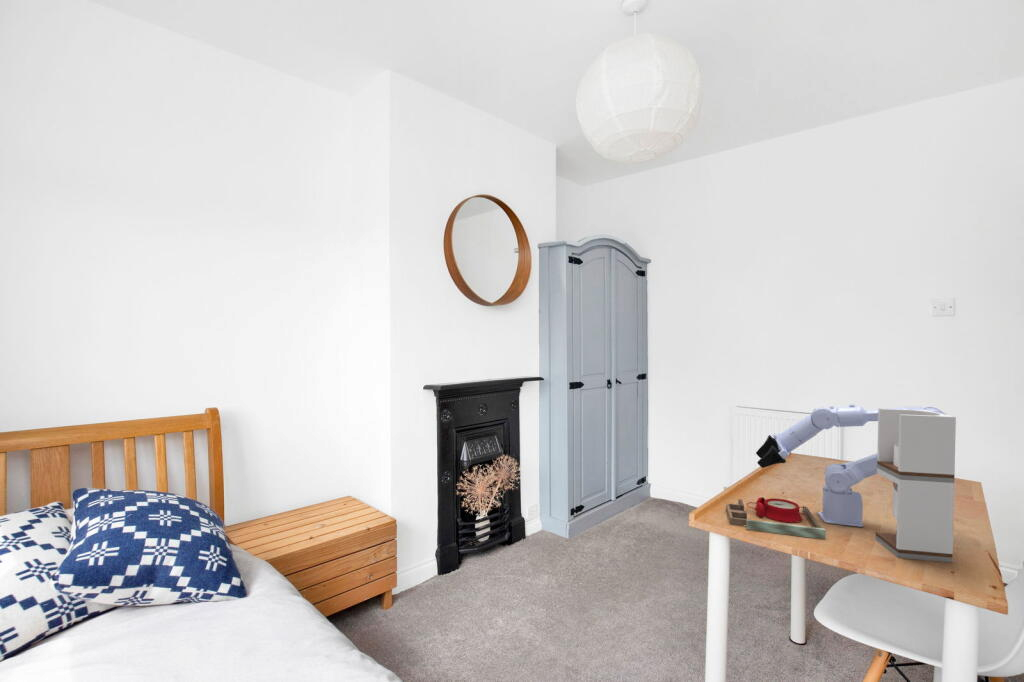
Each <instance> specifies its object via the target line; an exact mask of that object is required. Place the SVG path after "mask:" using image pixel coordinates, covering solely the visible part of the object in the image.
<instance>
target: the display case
mask: <svg viewBox="0 0 1024 682" xmlns="http://www.w3.org/2000/svg"><path fill="white" fill-rule="evenodd" d="M877 409H878V421H877V452H876V453H877V474H878V475H880V476H881V477H883V478H885V479H887V480H888V481H891V482H892V506H891V507H892V510H891V511H892V515H893V517H894V518H895V520H896V533H891V532H890V533H889V532H879V531H878V532H875V541H876V540H877V541H876V542H877V543H879V544H880V543H881V544H880V545H882V546H883V547H884V548H885V549H886V550H887V551H889V552H890V553H892V554H893V555H895V557H896V558H899V559H909V560H919V561H920V560H921V561H933V562H942V563H943V562H944V563H953V558H954V557H953V555H954V554H953V553H954V551H953V550H954V518H955V517H954V513H955V512H954V511H955V510H954V509H955V506H954V505H955V470H956V469H955V467H956V466H955V465H956V427H957V426H956V425H957V421H956V420H957V417H956V416H953V415H948V414H947V415H945V414H946V413H945V414H941V413H937V412H933V411H929V410H904V409H886V408H877ZM877 474H876V475H877Z"/></svg>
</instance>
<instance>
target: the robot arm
mask: <svg viewBox="0 0 1024 682" xmlns="http://www.w3.org/2000/svg"><path fill="white" fill-rule="evenodd" d="M878 409H879V408H877V409H875V408H874V409H864V408H863V407H862V406H860V405H855V404H854V403H850V404H848V406H837V407H834V405H830V406H829V408H827V407H824V406H823V407H822V406H821V407H820V406H819V407H817V408H813V410H812V412H811V414H809V415H806V416H805V417H804V418H802V419H800V420H799V421H798V422H796V423H794V424H793V425H792V426H791V425H790V427H788V428H787V429H785V430H784V431H782V432H781V433H780V432H779V433H777V434H776V433H775V432H774V433H773V434H772V435H770V434H768V435H767V438H766V440H765V441H764V443H763V444H762V445H761V446H760V447H759V448H758V450H756V452H755V455H757V456H758V457H759V458H760V459H759V460H758V461H757V463H756V464H758V465H759V467H761V469H765V468H767V467H770V466H772V465H778V464H785V463H786V462H787V460H786V458H788V457H789V456H790V454H791V453H792V452H793V451H794V450H796V449H797V448H799V447H800V446H802V445H803V444H804V443H806V442H808V441H809V440H811V439H812V438H814V437H816V436H817V434H818V433H821V432H822V431H824V430H829V429H832V428H833V427H836V428H844V427H846V428H849V427H850V428H851V427H863V426H865V425H866V424H867V423H868V422H878ZM885 409H904V410H929V411H933V412H937V413H941V414H945V415H948V414H947V413H945V412H944V411H942V410H941V409H938V408H937V407H932V406H926V407H922V406H902V407H901V406H899V407H889V408H885ZM772 436H773V437H772ZM877 453H878V452H876V453H873V454H871V455H868V456H866V457H863V458H861V459H860V458H859V459H857V460H855V461H846V462H844V463H841V464H840V463H832V464H829V465H828V466H827V467H826V468H825V471H824V476H825V478H824V483H825V484H824V485H823V486H822V508H821V509H822V511H818V512H817V514H818V516H820V518H821V519H822V521H823V522H824V523H826V524H834V525H843V526H851V527H858V528H859V527H860V528H861V527H862V528H863V527H864V525H863V511H864V509H863V505H864V503H863V498H862V495H861V493H860V492H859V491H853V489H852V488H851V487H852V486H854V485H857V484H859V483H861V482H862V481H863V480H865V479H867V478H869V477H873V476H875V475H877Z"/></svg>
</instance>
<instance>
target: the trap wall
mask: <svg viewBox="0 0 1024 682" xmlns="http://www.w3.org/2000/svg"><path fill="white" fill-rule="evenodd" d="M737 500H738V502H737V504H738V505H741V508H740V510H741V511H743V519H746V526H745V529H746V528H747V529H751V530H750V531H755V530H756V531H755V532H763V531H764V532H765V533H772V534H780V535H787V536H797V537H804V538H811V539H818V540H826V532H827V531H826V529H825V528H823V527H822V526H821V524H819V522H818V520H817V519H816V518H815V516H814V515H813V514H812V512H811V511H810V510H809V508H808V506H805V505H803V506H804V508H802V514H805V515H804V517H806V519H807V521H808V522H809V524H810V525H811V526H805V525H796V524H788V523H783V522H781V523H780V522H772V521H766V520H765V521H763V520H757V519H756V520H754V519H748V513H747V511H746V510H745V503H744V502H743V500H742V499H741V498H738V499H737ZM747 529H746V530H747Z"/></svg>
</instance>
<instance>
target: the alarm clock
mask: <svg viewBox="0 0 1024 682" xmlns="http://www.w3.org/2000/svg"><path fill="white" fill-rule="evenodd" d="M749 504H756V505H755V507H752V506H750V505H749ZM746 506H747V508H751V509H754V510H755V513H756V515H757V516H758V517H759V518H764V517H765V518H768V519H770V520H773V521H776V522H779V523H780V522H781V523H791V524H793V523H799V522H801V521H803V520H804V518H803V517H802V516H801V515H803V516H805V514H804V513H803V512H802V513H801V512H800V508H802V509H803V508H804V506H805V505H802V506H800V505H799V504H798V503H796V502H794V501H791V500H788V499H783V498H767V499H765V497H762V496H761V497H760V496H759V497H758V498H757V500H756V502H747V504H746Z"/></svg>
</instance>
